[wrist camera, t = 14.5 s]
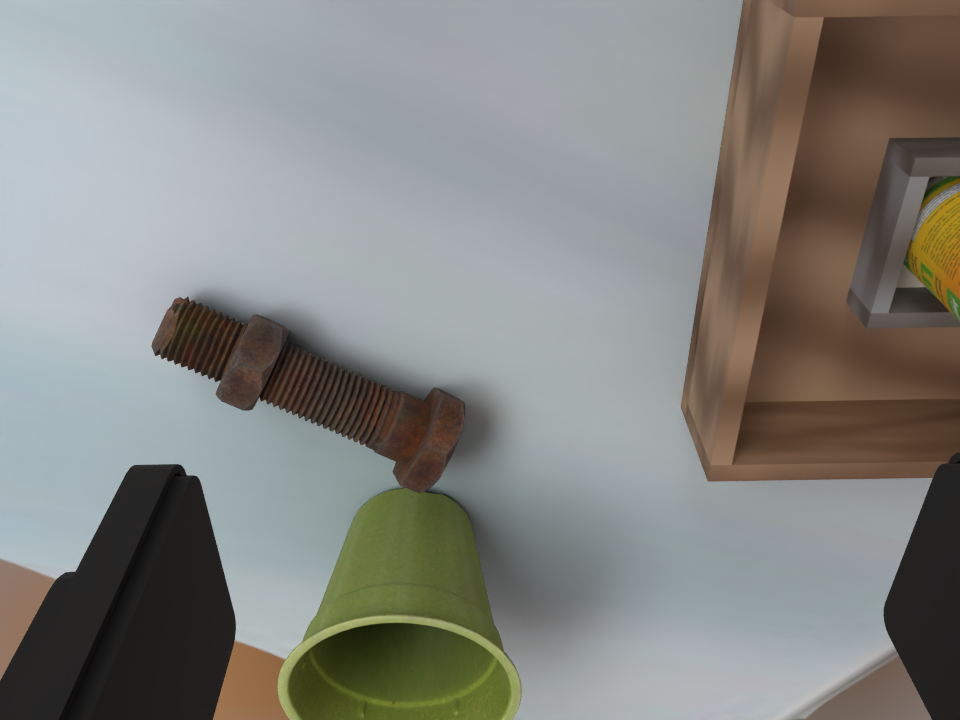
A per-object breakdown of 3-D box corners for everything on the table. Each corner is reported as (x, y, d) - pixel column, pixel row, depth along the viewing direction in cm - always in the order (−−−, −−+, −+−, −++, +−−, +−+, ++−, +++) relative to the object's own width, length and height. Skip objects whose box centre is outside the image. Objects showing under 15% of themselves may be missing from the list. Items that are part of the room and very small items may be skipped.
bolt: (192, 275, 42) (452, 394, 46) (150, 364, 42) (413, 477, 46) (178, 274, 37) (476, 410, 40) (129, 377, 37) (431, 504, 40)
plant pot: (275, 542, 50) (231, 710, 41) (390, 420, 45) (369, 579, 36) (431, 622, 54) (424, 791, 45) (552, 519, 49) (572, 684, 40)
